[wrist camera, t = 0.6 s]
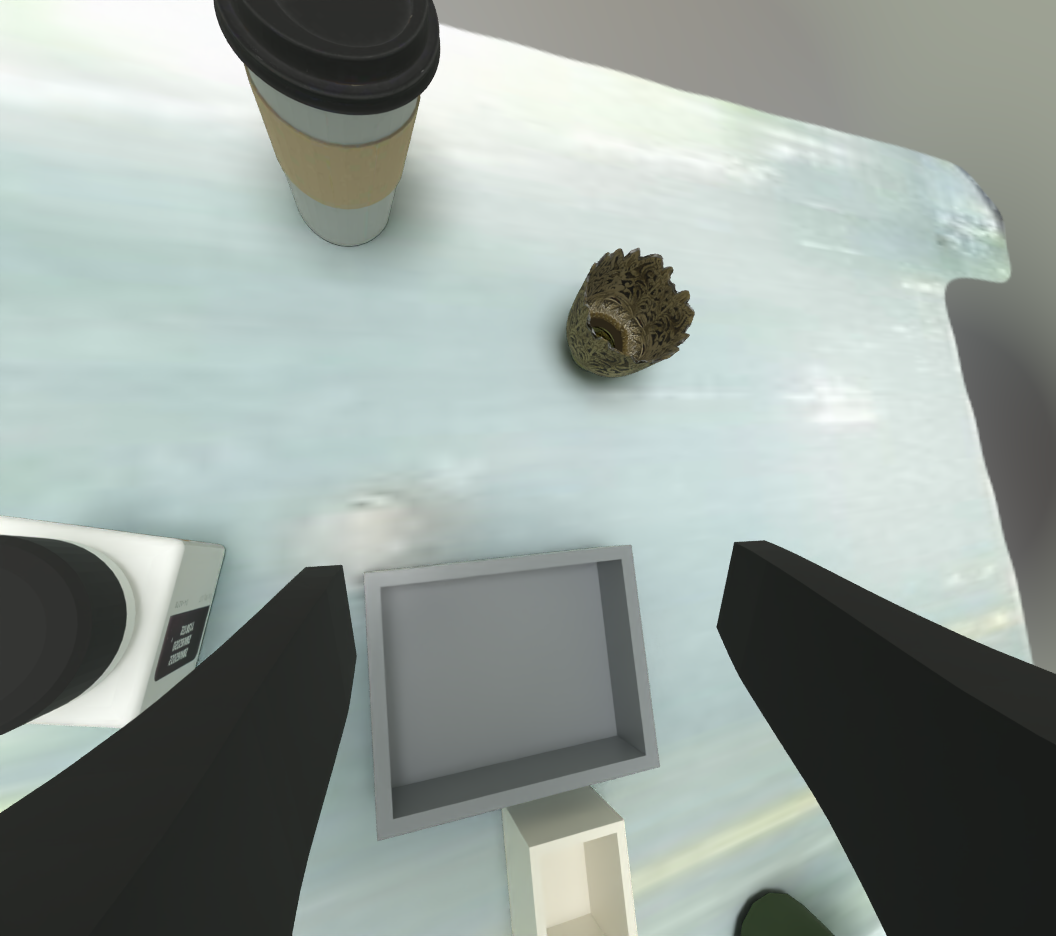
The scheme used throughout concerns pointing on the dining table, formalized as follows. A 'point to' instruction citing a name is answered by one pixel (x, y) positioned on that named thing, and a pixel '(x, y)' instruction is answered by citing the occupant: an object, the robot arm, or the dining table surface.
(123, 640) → the container
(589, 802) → the cream crate
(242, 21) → the coffee cup
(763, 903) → the character mug
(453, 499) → the dining table surface
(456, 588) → the grey crate
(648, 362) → the cup
